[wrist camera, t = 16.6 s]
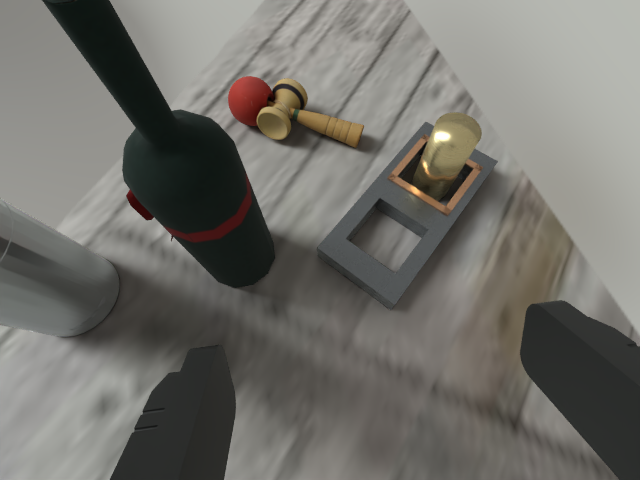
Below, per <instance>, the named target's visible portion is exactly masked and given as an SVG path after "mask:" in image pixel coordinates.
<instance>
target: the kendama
mask: <svg viewBox="0 0 640 480" xmlns="http://www.w3.org/2000/svg"><path fill="white" fill-rule="evenodd" d="M307 100H308V97H307V94H306V91H305V89H304V88H303V86H302V85H301V84H300V83H298V82H297V81H295V80H293V79H288V78H286V79H281V80H280V81H278V82H277V84H276V85H275V86H274V88H273V90H271V89H270V87H269V86H268V85H267V84H266V83H265V82H264V81H263V80H261V79H259V78H257V77H252V76H248V77H243V78H240V79H239V80H237V81H236V82H235V83H234V84H233V85H232V87H231V89H230V91H229V96H228V103H229V108H230V110H231V112H232V114H233V116H234V117H235V118H236V119H237V120H238V121H240V122H241V123H243V124H246V125H250V126H256V125H258V127H259V129H260V130H261V131H262V132H263V133H264V134H265V135H266V136H268V137H269V138H272V139H275V140H282V139H285V138H286V137H287V135H288V134H289V132H290V131H291V123H290V119H293V120H294V121H296V122H298V123H300V124H302V125H304V126H306V127H308V128H310V129H312V130H315V131H317V132H319V133H322V134H324V135H325V134H326V135H327V136H329V137H333V138H334V139H336V140H339V141H341V142H344V143H346V144H348V145H350V146H352V147H355V148H356V147H357V146H358V142H359V140H360V137H361V134H362V131H363V128H364V125H361V124H356V123H351V122H348V121H344V120H341V119H337V118H334V117H330V116H327V115H323V114H319V113H314V112H309V111H304V108H305V106H306V104H307Z"/></svg>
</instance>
